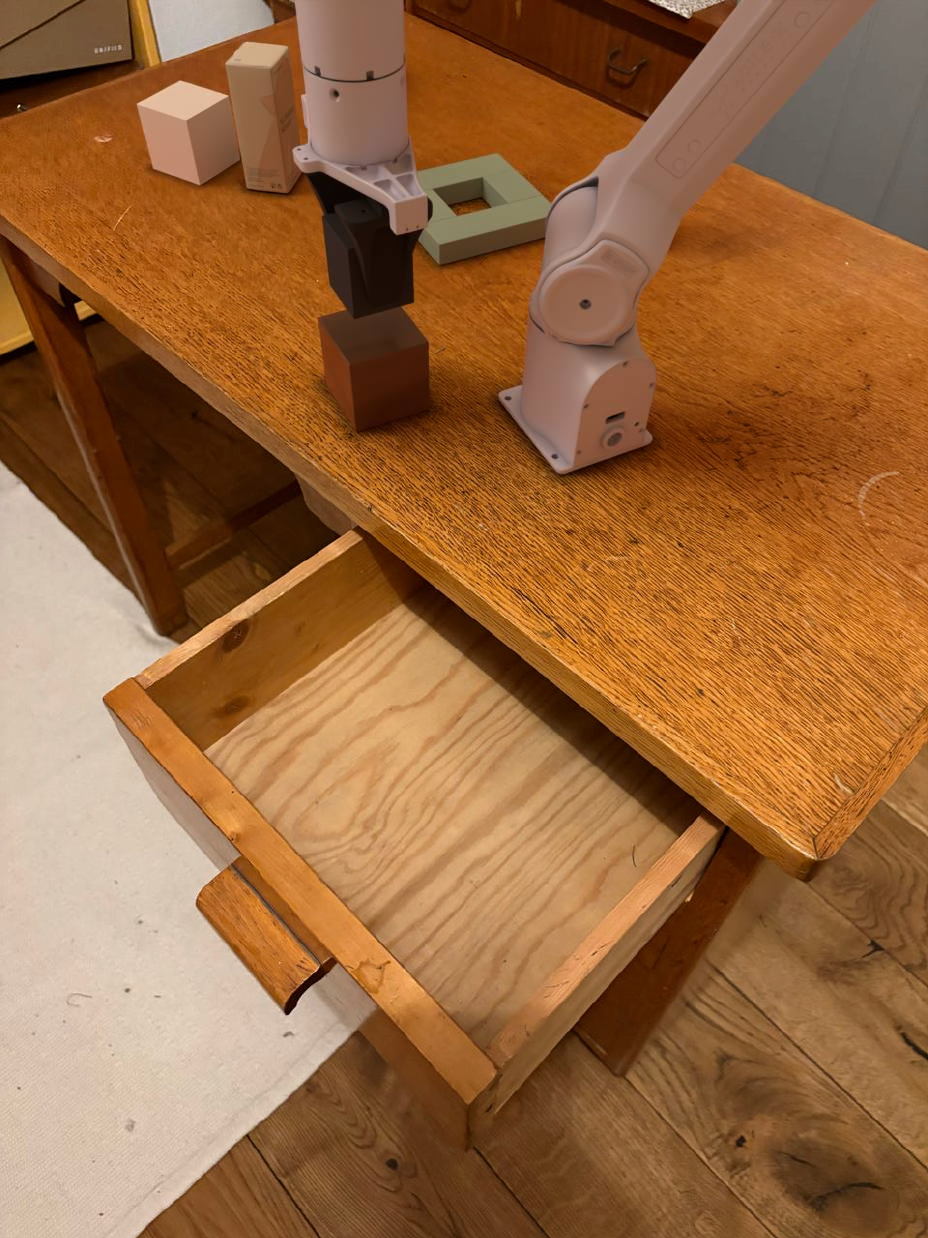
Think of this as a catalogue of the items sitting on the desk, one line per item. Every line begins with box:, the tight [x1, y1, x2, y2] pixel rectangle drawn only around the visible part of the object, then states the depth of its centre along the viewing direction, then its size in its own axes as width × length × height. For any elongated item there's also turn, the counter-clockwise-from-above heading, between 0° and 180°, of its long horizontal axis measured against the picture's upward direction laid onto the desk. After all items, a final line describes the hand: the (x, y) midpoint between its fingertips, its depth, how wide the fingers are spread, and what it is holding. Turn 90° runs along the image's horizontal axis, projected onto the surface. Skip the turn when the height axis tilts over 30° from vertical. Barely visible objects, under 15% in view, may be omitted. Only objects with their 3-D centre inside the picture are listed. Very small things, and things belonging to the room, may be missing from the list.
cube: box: [317, 306, 431, 433], centre depth 66 cm, size 6×6×6 cm
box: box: [225, 41, 303, 194], centre depth 83 cm, size 5×4×11 cm
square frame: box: [417, 152, 552, 266], centre depth 83 cm, size 12×12×2 cm
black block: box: [321, 212, 415, 319], centre depth 60 cm, size 4×4×5 cm
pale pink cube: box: [136, 79, 241, 186], centre depth 87 cm, size 6×6×6 cm
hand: (370, 281), depth 61 cm, fingers closed on black block, 4 cm apart
